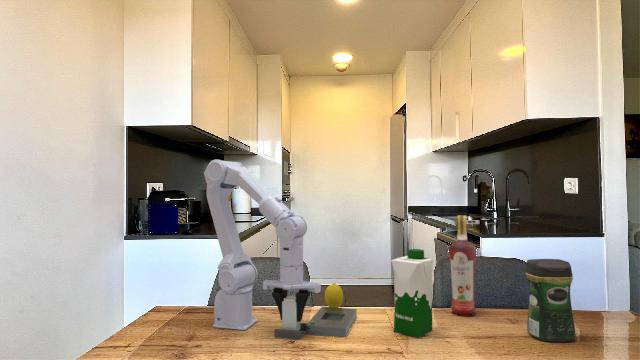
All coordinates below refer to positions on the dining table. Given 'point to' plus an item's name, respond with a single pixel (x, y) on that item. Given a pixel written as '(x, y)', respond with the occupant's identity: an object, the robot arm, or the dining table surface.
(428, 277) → the milk carton
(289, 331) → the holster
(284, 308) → the plug
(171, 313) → the dining table surface
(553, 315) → the coffee jar
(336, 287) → the lemon
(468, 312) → the liquor
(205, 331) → the dining table surface
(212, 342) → the dining table surface
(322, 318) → the port panel
